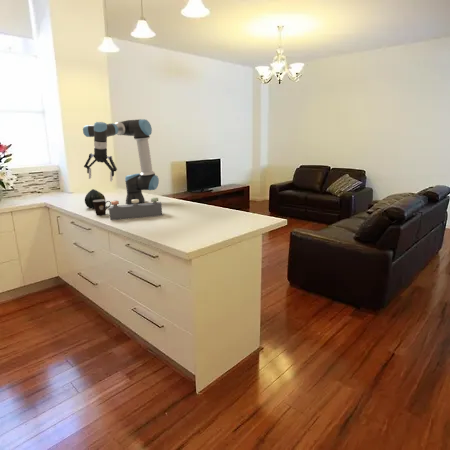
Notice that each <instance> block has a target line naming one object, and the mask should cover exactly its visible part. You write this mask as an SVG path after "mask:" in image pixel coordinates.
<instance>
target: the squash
mask: <svg viewBox="0 0 450 450" xmlns="http://www.w3.org/2000/svg"><path fill="white" fill-rule="evenodd" d="M100 199H104V200H106V197H105V196H104V194H103V193H102V192H100V191H98V190H97V189H93V188H92V189H91V190H89V191H88V193H86V195H85V197H84V203H85V206H86V207H87V208H89V209H95V208H94V205H93V201H94V200H100Z"/></svg>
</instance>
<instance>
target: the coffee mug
mask: <svg viewBox="0 0 450 450" xmlns="http://www.w3.org/2000/svg"><path fill="white" fill-rule="evenodd" d="M108 202H109V205H108V206H107V207H106V205H107V203H108ZM93 205H94V208H93V209H94V211H95V215H96V216H104V215H106V213H107V212H106V211H107V210H108V209H109V207H110V206H112V205H111V201H110V200H107V199H105V200H104V199H100V200H94V201H93Z"/></svg>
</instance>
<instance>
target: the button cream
mask: <svg viewBox="0 0 450 450" xmlns="http://www.w3.org/2000/svg"><path fill="white" fill-rule="evenodd" d="M131 202H132V203H134V206H136V205H137V203H139V199H133V200H131Z"/></svg>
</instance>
